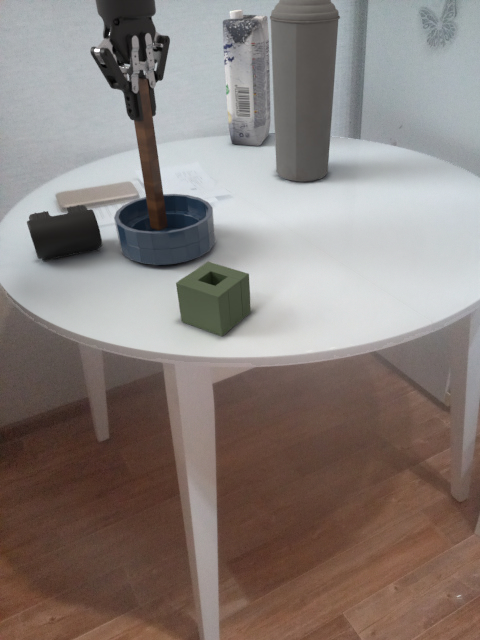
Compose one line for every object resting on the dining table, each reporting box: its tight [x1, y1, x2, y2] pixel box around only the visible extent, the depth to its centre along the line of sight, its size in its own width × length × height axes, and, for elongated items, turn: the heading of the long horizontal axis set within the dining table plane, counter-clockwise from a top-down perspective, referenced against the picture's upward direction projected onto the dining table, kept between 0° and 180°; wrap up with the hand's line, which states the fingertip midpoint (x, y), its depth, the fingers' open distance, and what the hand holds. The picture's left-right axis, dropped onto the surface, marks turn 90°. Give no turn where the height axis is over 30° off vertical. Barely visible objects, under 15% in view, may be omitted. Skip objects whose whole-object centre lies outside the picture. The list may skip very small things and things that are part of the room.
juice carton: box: [222, 9, 271, 147], centre depth 129 cm, size 9×10×27 cm
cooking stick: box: [128, 78, 168, 231], centre depth 85 cm, size 2×2×22 cm
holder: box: [175, 261, 252, 337], centre depth 74 cm, size 7×7×6 cm
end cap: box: [26, 204, 103, 262], centre depth 89 cm, size 10×7×7 cm
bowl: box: [113, 193, 216, 266], centre depth 91 cm, size 15×15×6 cm
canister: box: [269, 0, 341, 182], centre depth 108 cm, size 13×13×35 cm
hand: (142, 117), depth 82 cm, fingers closed on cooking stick, 2 cm apart
